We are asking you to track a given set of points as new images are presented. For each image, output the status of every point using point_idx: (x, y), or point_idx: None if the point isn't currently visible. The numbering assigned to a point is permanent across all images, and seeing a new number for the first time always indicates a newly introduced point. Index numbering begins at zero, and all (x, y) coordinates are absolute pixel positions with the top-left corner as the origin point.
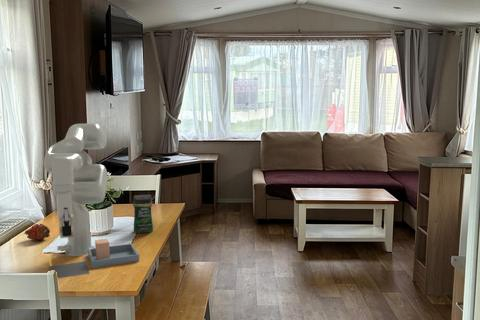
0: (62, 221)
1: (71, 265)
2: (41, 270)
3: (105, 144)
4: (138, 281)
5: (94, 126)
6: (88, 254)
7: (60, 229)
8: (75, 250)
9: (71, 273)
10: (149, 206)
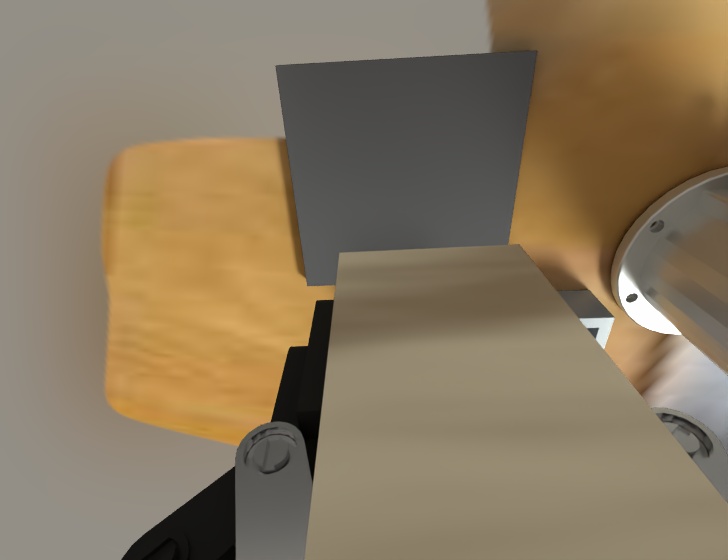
0: (301, 521)
1: (474, 200)
2: None
3: None
4: (190, 430)
5: None
6: (592, 299)
7: (331, 338)
8: (679, 242)
9: (336, 197)
10: None
